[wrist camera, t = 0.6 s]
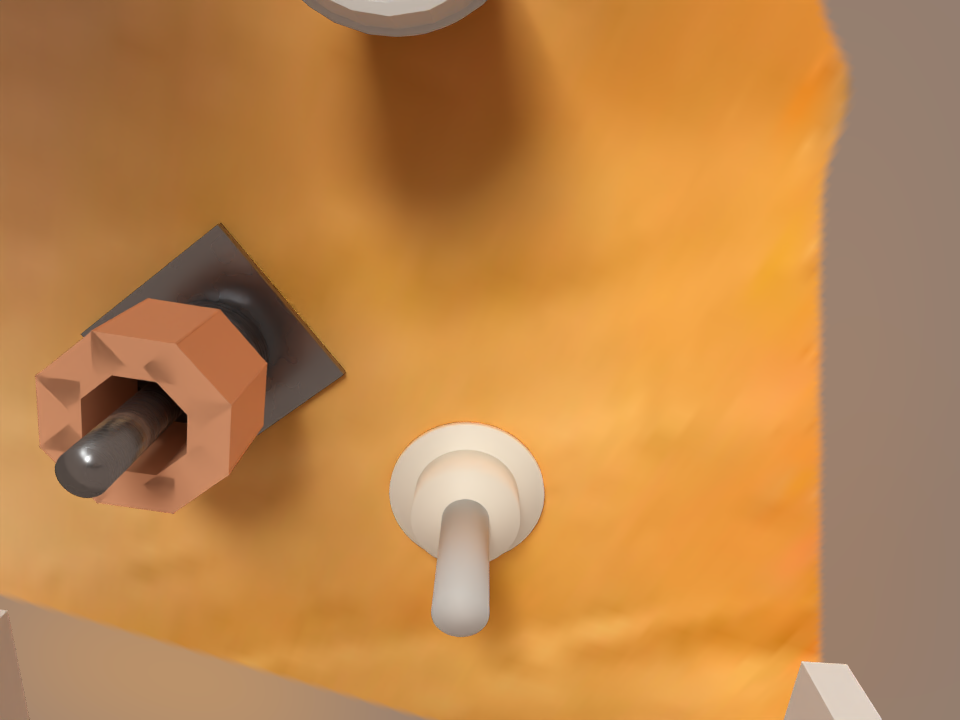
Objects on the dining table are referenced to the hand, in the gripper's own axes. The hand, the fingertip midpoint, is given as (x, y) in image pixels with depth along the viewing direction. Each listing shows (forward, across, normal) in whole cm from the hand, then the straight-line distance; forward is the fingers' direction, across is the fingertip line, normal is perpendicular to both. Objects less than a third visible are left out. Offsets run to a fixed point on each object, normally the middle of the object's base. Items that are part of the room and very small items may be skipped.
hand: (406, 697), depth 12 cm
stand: (+27, -13, -5) cm, 30 cm away
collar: (+22, -13, -5) cm, 26 cm away
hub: (+27, +1, -12) cm, 29 cm away
